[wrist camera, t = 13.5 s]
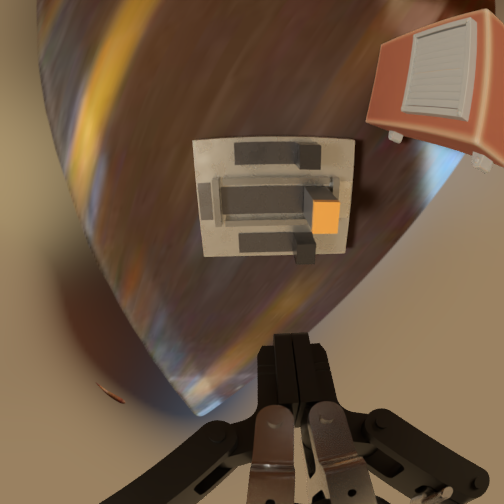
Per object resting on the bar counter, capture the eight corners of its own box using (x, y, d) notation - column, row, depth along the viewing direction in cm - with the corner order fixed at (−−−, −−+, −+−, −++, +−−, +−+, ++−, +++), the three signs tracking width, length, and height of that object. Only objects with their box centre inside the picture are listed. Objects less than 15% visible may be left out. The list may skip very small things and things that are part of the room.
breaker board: (195, 139, 33) (185, 143, 28) (349, 138, 32) (365, 143, 27) (206, 250, 40) (199, 270, 35) (341, 246, 40) (352, 266, 35)
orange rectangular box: (417, 54, 25) (399, 144, 32) (375, 34, 25) (356, 128, 32) (528, 39, 6) (512, 189, 13) (477, -11, 6) (464, 155, 13)
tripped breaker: (304, 186, 33) (314, 202, 28) (326, 186, 33) (340, 202, 27) (303, 213, 35) (312, 233, 29) (324, 213, 35) (337, 233, 29)
